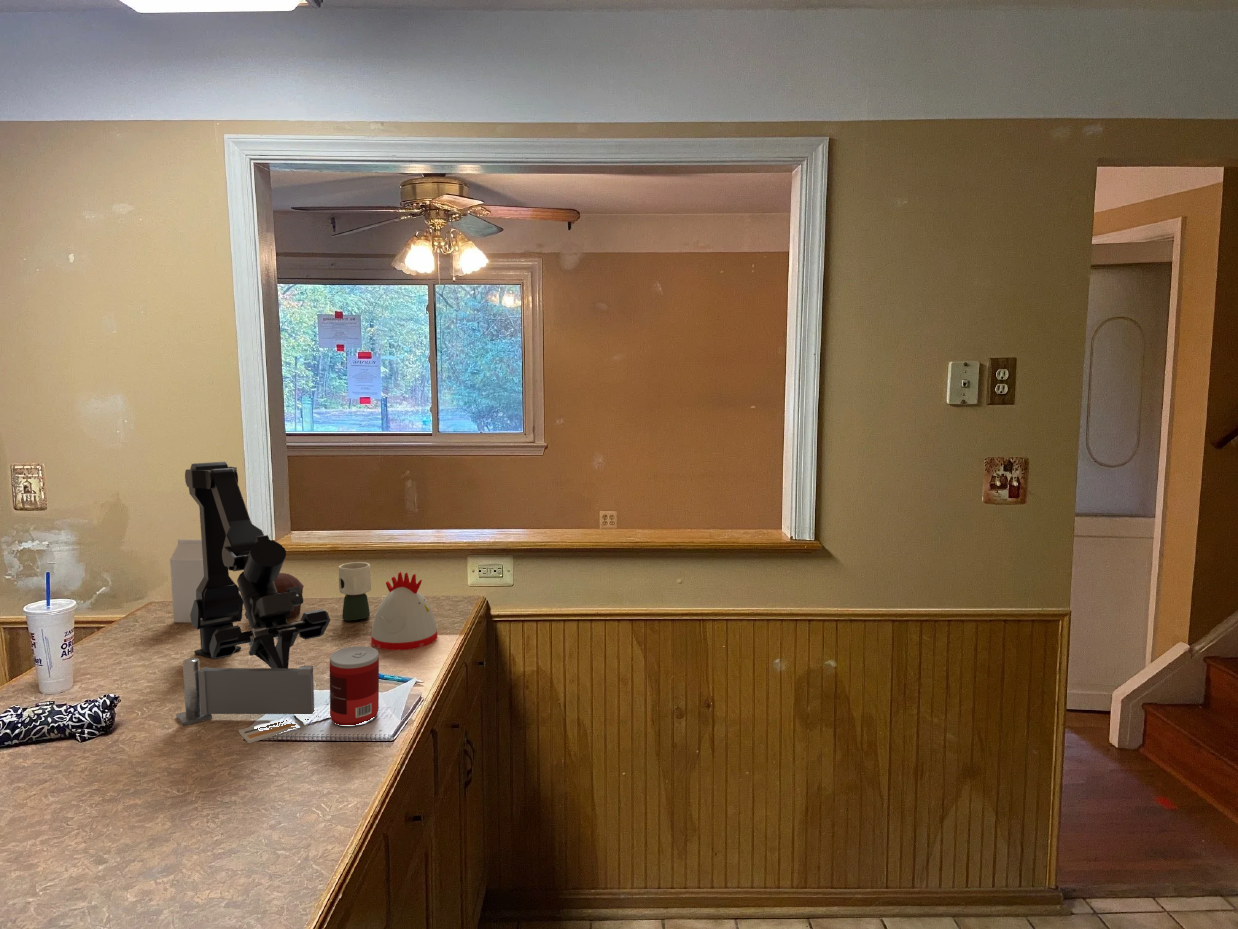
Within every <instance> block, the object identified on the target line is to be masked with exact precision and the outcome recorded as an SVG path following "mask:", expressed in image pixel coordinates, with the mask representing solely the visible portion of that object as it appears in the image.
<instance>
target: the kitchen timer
mask: <svg viewBox="0 0 1238 929" xmlns="http://www.w3.org/2000/svg"><path fill="white" fill-rule="evenodd" d="M403 575H404V576H403ZM391 581H392V584H391V583H390V582H389V580H388V581H385V585H386V588H387V590H388V593H387V594H386V596H384V598H383V600H382V601H381V603H380V604H379V605H378V608H377V611H376V612H375V616H374V620H373V623H372V626H371V635H370V636H371V644H372V646H374V647H375V648H378V649H381V650H389V651H405V650H407V651H409V650H414V649H419V648H423V647H426V646H428V645H431V644H433V643H434V642H435V641H436V640H437V639H438V628H437V626H438V625H437V623H436V622H437V621H436V619H435V615H434V614H433V611H432V608H431V607H430V604H429V603H428V600H427V599H426V598H425V596H424V595H422V594H421V593H420V592H419V589H420V586H421V585H422V582H423V580H422V579H420V580H419V581H418V582H417V575H416V573H413V574H412V576H411V578H409V574H408V572H405V573H404V574H402V571H400V572H398V574H397V578H396V576H391Z"/></svg>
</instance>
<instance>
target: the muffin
mask: <svg viewBox="0 0 1238 929" xmlns="http://www.w3.org/2000/svg"><path fill="white" fill-rule="evenodd" d="M274 583H275V586H276V589H277V593H278V592H280V593H286V590H287V589H289V588H292V587H298V586H299V587H300V590H301V592H302V594H303V590H304V586H305V585H303V583H302V582H301V581H300V580H299V579H298V578H297V577H295V576H293V575H292V574H290V573H284V572H280V573H279V575H278V578H277V579H276V580H274ZM301 605H302V604H301ZM301 605H299V606H295V607H294V610H293V611H290V614H291V616H290V619H289V620H291V619H295V618H296V617H297V616H299V615H300V614H301V608H302V607H301Z"/></svg>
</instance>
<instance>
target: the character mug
mask: <svg viewBox="0 0 1238 929" xmlns="http://www.w3.org/2000/svg"><path fill="white" fill-rule="evenodd" d="M371 569H372V568H371V564H370V563H368V562H362V561H356V562H355V561H353V562H347V563H343V564H341V565H340V564H339V565H338V587H339V588H338V589H339V593H341V594H344V597H343V604H342V614H341V615H342V617H341V618H342V620H344V621H355V622H357V621H358V620H363V619H366V618H370V616H371V615H370V614H371V612H370V606H369V604H370V603H369V599H368V595H367V593H369V592H370V591H371V590H372V578H371V576H372V575H371V572H372V571H371Z"/></svg>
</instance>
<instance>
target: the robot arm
mask: <svg viewBox="0 0 1238 929" xmlns="http://www.w3.org/2000/svg"><path fill="white" fill-rule="evenodd" d="M184 480H185V481H184V482H185V485H186V487H187V488H188V491H189V495H190V497H191V498H192V499H193V500H194V501H195V502H196V504H197V505H198V508H199V509H198V510H199V522H200V523H199V524H200V534H201V535H200V536H201V539H200V540H202V555H203V570H204V577H203V579H202V581H201V582H200V584H199V586H198V588H197V589H196V600H194V603H193V607H192V610H191V614H190V617H191V622H190V623H191V625H192V627H194V628H195V629H196V630H199V636H200V637H199V638H200V649H196V650H194V654H196V655H199V656H202V657H206V658H210V659H213V660H218V659H223V658H228V657H231V656H233V654H234V652H238V651H240V650H242V646H240V645H244V644H248V646H249V648H250V649H249V651H248V656H256V657H257V658H258V659H260V660H261V661H262V662H264V663H265V664H267V666H269V668H289V660H290V650H291V647H293V646H294V644H295V642H296V641H297V637H298V635H299V638H301V639H303V640H305V641H306V640H311V639H315V638H320V637H321V636H323V635H324V634H325V632H326V630H327V629H328V626H329V625H330V622H331V618H330V615H329V613H328V611H326V610H325V609H323V608H320V609H316V610H309V611H305V612H303V613H302V615H301V617H300V619H299V620H297V621H293V622H292V621H291V622H288V621H287V620H291V619H290V616H291V614H290V611H293V610H294V607H295V606H299V605H302V604H304V597H303V593H302V592H301V590H300V587H299V586H298V587H292V588H289V589H287V590H286V593H280V592H278V593H277V589H276V586H275V583H274V580H276V579H277V578H278V575H279V573H281V570H282V568H283V564H284V562H285V560H286V556H287V552H286V548H285V547H284V546H283V545H282V544H281V543H279V542H278V541H275V540H272V539H270V537H269V535H268V534H264V531H263V530H262V529H261V528H259V527H257V526H256V525H254V523H253V522H252V520H251V518H250V515H249V513H248V509H247V506H246V504H245V501H244V498H243V495H242V493H241V492H242V491H241V490H240V486H239V474H238V468H237V466H228V464H227V462H226V461H215V462H197V463H191V466H190V469H188V468H187V469H185V471H184ZM229 571H232V572H238V571H242V572H241V573H240V574H239V575H238V577H237V579H236V583H237V584H236V583H235V581H234V580H233V579H232V578H231V577H230V574H229V573H230V572H229ZM243 607H244V609H243ZM243 610H245V613H244V616H245V619H246V620H248V623H249V626H250V630H246V631H243V632H242V629H241V626H240V625H239V624H237V625H234V623H237V622H238V623H239V622H242V618H243ZM201 618H202V619H201ZM275 639H276V644H275Z"/></svg>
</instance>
